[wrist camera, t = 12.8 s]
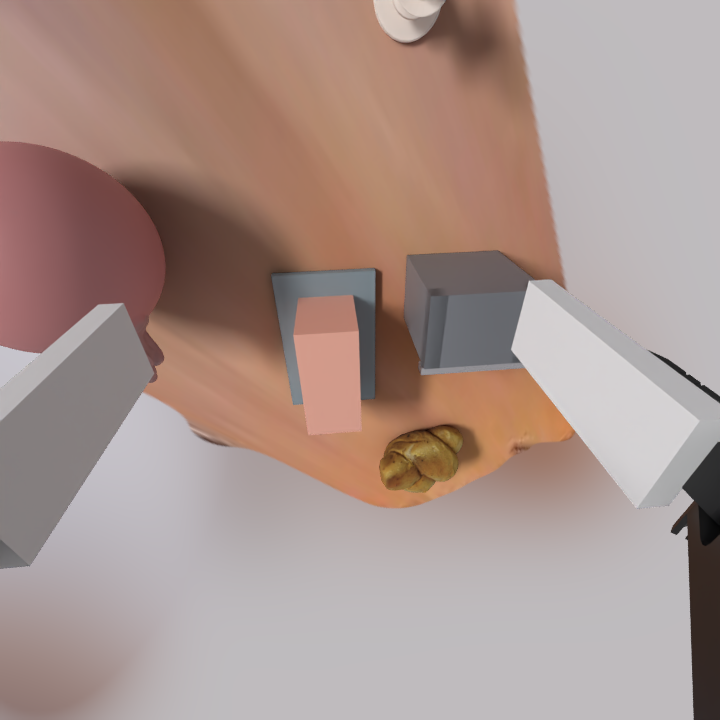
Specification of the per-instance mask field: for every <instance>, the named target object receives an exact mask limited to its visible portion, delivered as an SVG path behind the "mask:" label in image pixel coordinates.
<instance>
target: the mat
mask: <svg viewBox="0 0 720 720" xmlns="http://www.w3.org/2000/svg"><path fill="white" fill-rule="evenodd" d="M271 278H272V284H273V290H274V295H275V301H276V307H277V313H278V319H279V325H280V330H281V336H282V342H283V348H284V354H285V360H286V366H287V371H288V377H289V383H290V389H291V395H292V401H293V405H297V404H303V397H302V390H301V384H300V377H299V370H298V364H297V357H296V350H295V343H294V337H293V334H294V326H295V319H296V311H297V304H298V298H306V297H324V296H342V295H353V299H354V305H355V311H356V317H357V323H358V329H359V357H360V392H361V400H366V399H375V268H367V269H348V270H328V271H309V272H290V273H272V275H271Z"/></svg>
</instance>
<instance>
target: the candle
mask: <svg viewBox="0 0 720 720" xmlns="http://www.w3.org/2000/svg"><path fill="white" fill-rule="evenodd" d="M445 1H446V0H374V8H375V14H376V17H377V19H378V22H379V24H380V26H381V27H382V29H383V30H384V32H385V33H386V34H387V35H388V36H389V37H390V38H392V39H393V40H396V41H398V42H402V43H410V42H413V41H416V40H418V39H420V38H421V37H423V36H424V35H425V34H427V32H428V31H429V30H430V29H431V28H432V27H433V25H434V23H435V21H436V19H437V17H438V16H439V12H440V9H441V6H442V5H443V4H444V3H445Z"/></svg>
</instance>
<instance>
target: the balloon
mask: <svg viewBox="0 0 720 720" xmlns="http://www.w3.org/2000/svg"><path fill="white" fill-rule="evenodd" d="M165 272H166V263H165V255H164V250H163V246H162V242H161V239H160V236H159V234H158V231H157V229H156V227H155V225H154V223H153V222H152V220H151V218H150V216H149V215H148V213H147V212H146V211H145V209H144V208H143V207H142V205H141V204H140V203H139V202H138V200H137V199H136V198H135V197H134V196H133V195H132V194H131V193H130V192H129V191H128V190H127V189H126V188H125V187H124V186H122V185H121V184H120V183H119V182H118V181H116V180H115V179H114V178H112V177H111V176H110V175H108V174H107V173H105V172H104V171H102V170H101V169H99V168H97V167H96V166H94V165H92V164H90V163H88V162H86V161H84V160H82V159H80V158H78V157H76V156H73V155H71V154H68V153H65V152H62V151H59V150H56V149H53V148H49V147H45V146H41V145H35V144H30V143H21V142H0V345H1V346H4V347H8V348H12V349H16V350H21V351H26V352H33V353H42V352H44V351H45V350H46V349H47V348H48V347H49V346H51V345H52V344H53V343H54V342H55V341H56V340H58V339H59V338H60V337H61V336H62V335H63V334H65V333H66V332H67V331H68V330H69V329H70V328H72V327H73V326H74V325H75V324H76V323H77V322H79V321H80V320H81V319H82V318H83V317H84V316H86V315H87V314H88V313H89V312H90V311H91V310H93V309H94V308H95V307H96V306H97V305H99V304H117V303H124V305H125V307H126V310H127V312H128V314H129V316H130V319H131V321H132V323H133V326H134V328H135V330H136V332H137V335H138V337H139V339H140V342H141V344H142V346H143V349H144V351H145V353H146V355H147V358H148V360H149V362H150V365H151V367H152V369H153V371H154V375H153V376H152V378H151V379H150V381H149V382H148V383H152V382H155V381H156V380H157V371H156V368H155V366H157V365H160V364H161V363H162V362H163V361H164V355H163V352H162V351H161V349H160V348H159V346H158V345H157V344H156V343H155V342H154V341H153V339H152V338H151V337H150V335H149V334H148V333H147V332H146V326H147V324H148V322H149V315H150V314H151V312H152V311H153V309H154V308H155V306H156V304H157V302H158V300H159V298H160V296H161V293H162V290H163V286H164V281H165Z"/></svg>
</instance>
